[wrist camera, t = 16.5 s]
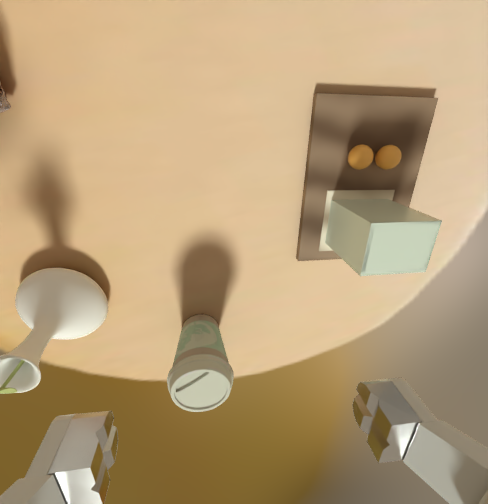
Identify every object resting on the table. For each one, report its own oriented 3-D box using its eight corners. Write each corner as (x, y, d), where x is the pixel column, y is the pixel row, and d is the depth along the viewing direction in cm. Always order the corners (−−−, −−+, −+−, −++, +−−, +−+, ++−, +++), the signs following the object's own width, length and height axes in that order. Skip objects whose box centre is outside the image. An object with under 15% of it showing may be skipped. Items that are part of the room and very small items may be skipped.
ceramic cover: (331, 199, 39) (371, 223, 30) (387, 198, 40) (441, 220, 31) (325, 242, 42) (360, 276, 33) (377, 240, 43) (425, 271, 34)
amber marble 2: (373, 143, 37) (387, 145, 34) (394, 144, 37) (409, 145, 35) (368, 167, 38) (381, 171, 35) (389, 167, 39) (403, 171, 36)
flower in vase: (75, 247, 38) (-104, 432, 15) (127, 308, 43) (49, 515, 20) (-7, 291, 39) (-293, 528, 16) (53, 345, 43) (-101, 585, 21)
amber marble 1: (345, 143, 36) (357, 145, 34) (367, 143, 37) (380, 145, 34) (341, 167, 38) (353, 171, 35) (363, 167, 38) (375, 171, 35)
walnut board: (313, 93, 34) (317, 93, 33) (432, 98, 37) (438, 97, 36) (296, 258, 43) (298, 261, 42) (391, 253, 46) (396, 256, 45)
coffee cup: (225, 304, 45) (234, 361, 34) (227, 346, 49) (235, 410, 38) (170, 309, 44) (161, 370, 33) (176, 351, 47) (169, 419, 37)
